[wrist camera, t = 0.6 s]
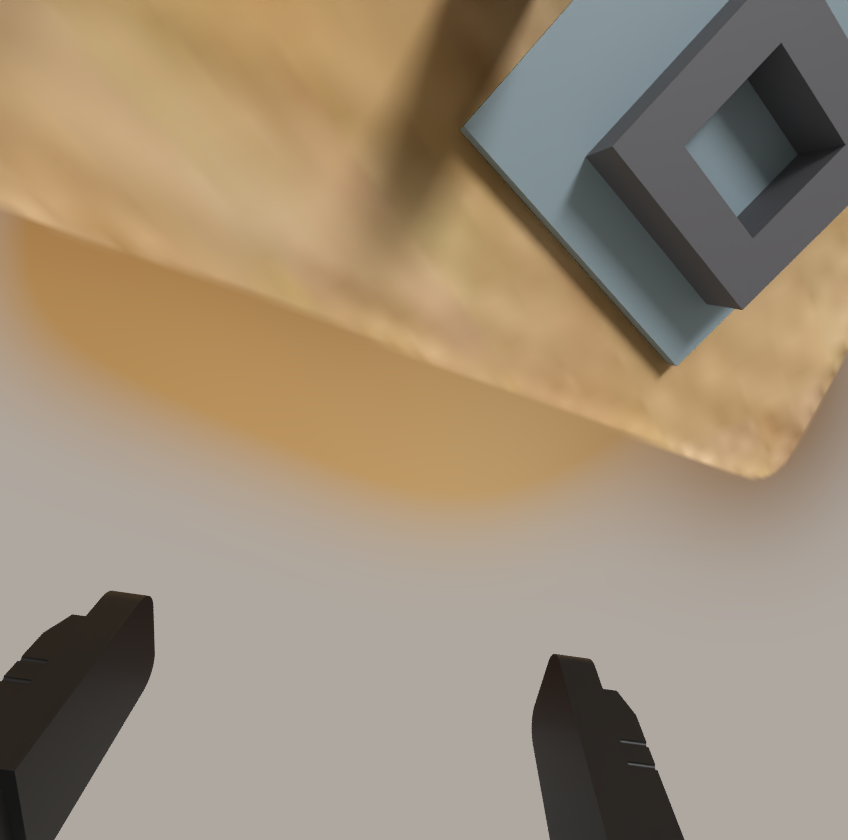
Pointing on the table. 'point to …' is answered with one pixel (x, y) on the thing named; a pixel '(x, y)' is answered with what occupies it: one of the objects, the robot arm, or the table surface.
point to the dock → (582, 113)
